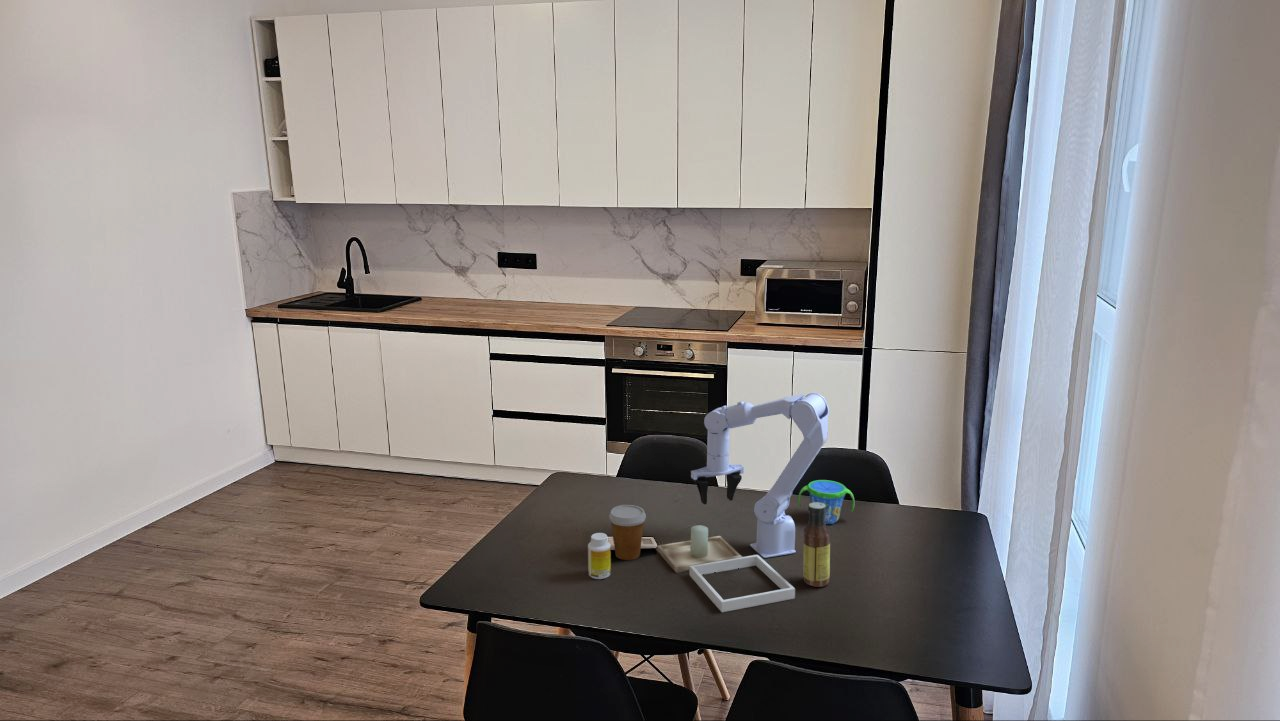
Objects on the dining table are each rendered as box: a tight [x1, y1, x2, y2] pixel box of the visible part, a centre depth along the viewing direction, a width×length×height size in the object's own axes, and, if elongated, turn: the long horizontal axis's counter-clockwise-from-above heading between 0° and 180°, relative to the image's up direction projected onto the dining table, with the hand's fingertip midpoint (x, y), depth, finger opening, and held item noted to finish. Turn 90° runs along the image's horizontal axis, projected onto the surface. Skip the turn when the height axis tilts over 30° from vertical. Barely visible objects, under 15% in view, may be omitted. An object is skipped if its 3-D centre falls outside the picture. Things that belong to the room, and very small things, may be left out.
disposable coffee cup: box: [608, 504, 647, 561], centre depth 213 cm, size 10×10×12 cm
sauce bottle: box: [802, 502, 831, 588], centre depth 198 cm, size 6×6×20 cm
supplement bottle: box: [587, 532, 612, 580], centre depth 203 cm, size 6×6×10 cm
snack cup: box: [797, 479, 856, 525], centre depth 235 cm, size 16×10×10 cm
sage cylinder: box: [690, 524, 709, 558], centre depth 213 cm, size 4×4×7 cm
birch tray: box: [656, 535, 743, 574], centre depth 214 cm, size 18×13×2 cm
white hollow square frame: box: [689, 554, 796, 613], centre depth 198 cm, size 19×19×2 cm
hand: (716, 501), depth 223 cm, fingers open, 7 cm apart
